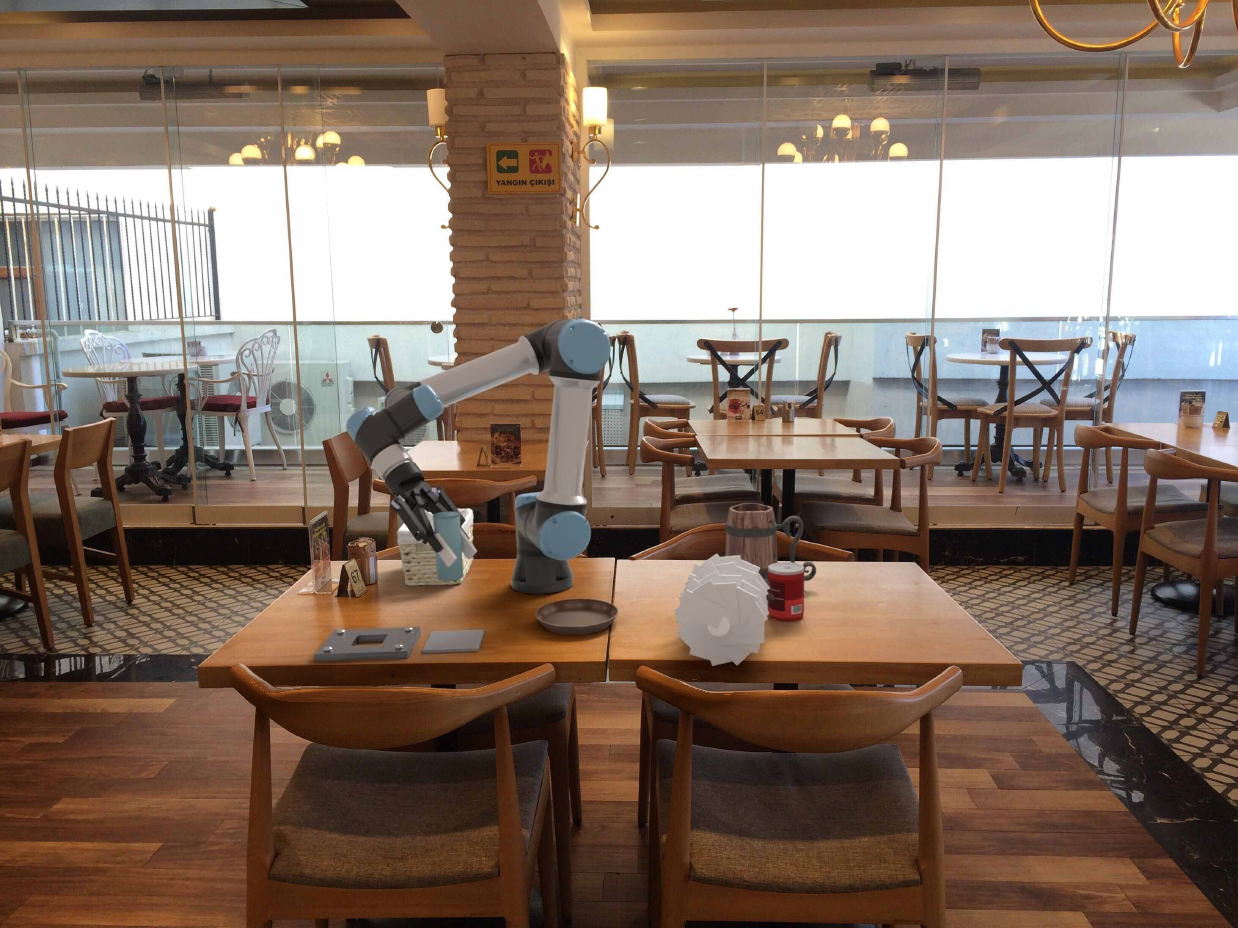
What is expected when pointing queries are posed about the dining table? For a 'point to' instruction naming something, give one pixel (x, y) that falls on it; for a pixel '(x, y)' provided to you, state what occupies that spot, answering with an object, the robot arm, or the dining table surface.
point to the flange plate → (345, 642)
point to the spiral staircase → (723, 610)
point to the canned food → (786, 591)
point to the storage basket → (428, 555)
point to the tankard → (759, 537)
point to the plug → (449, 544)
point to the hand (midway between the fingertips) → (462, 558)
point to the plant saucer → (576, 616)
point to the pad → (453, 641)
